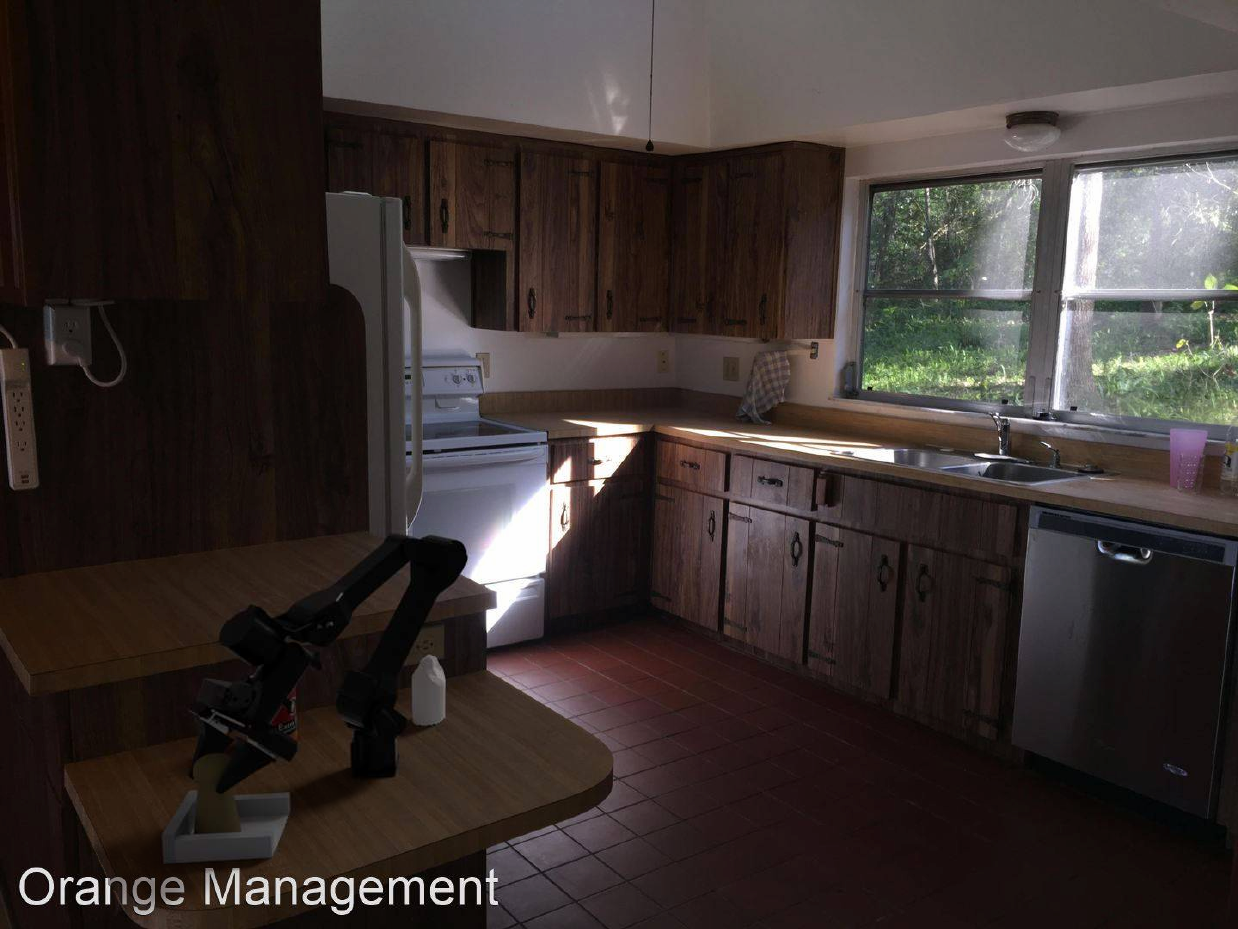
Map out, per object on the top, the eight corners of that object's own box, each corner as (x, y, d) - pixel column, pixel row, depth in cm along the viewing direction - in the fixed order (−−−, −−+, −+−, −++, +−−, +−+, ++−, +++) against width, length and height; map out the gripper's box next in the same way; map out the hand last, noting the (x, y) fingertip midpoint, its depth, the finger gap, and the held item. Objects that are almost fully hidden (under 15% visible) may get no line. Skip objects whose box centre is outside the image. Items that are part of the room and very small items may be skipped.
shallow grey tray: (290, 812, 143) (289, 786, 143) (272, 857, 131) (270, 829, 131) (191, 817, 142) (189, 790, 141) (163, 863, 130) (161, 834, 129)
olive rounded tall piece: (189, 829, 137) (185, 753, 136) (236, 818, 141) (232, 744, 139) (197, 850, 132) (192, 771, 131) (245, 838, 135) (241, 761, 134)
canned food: (282, 755, 161) (279, 690, 160) (237, 750, 163) (234, 685, 161) (306, 735, 169) (303, 673, 167) (263, 731, 170) (260, 669, 169)
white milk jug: (430, 645, 178) (452, 652, 174) (432, 710, 180) (453, 718, 176) (403, 654, 173) (425, 662, 170) (405, 721, 175) (426, 729, 172)
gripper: (196, 639, 141) (123, 740, 134) (273, 669, 130) (198, 781, 123) (250, 677, 149) (183, 774, 142) (327, 709, 137) (259, 816, 130)
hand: (203, 785), depth 134 cm, fingers open, 6 cm apart
